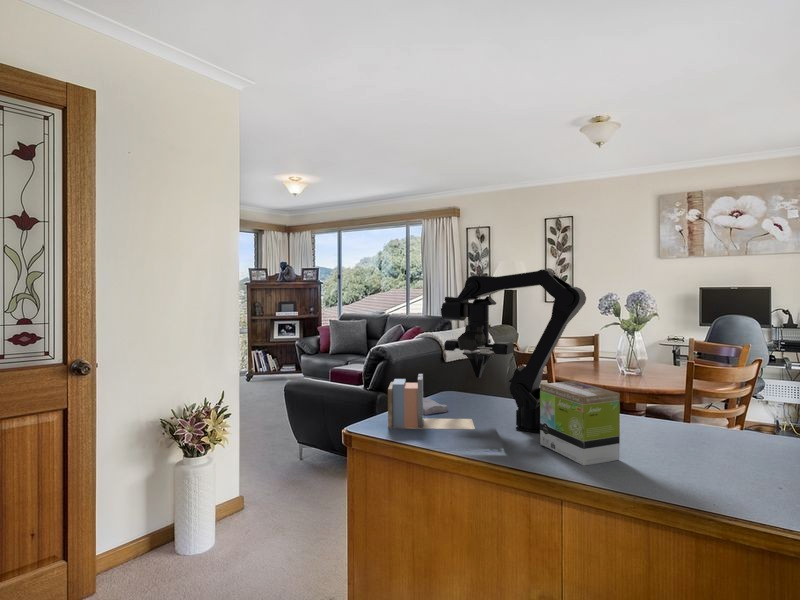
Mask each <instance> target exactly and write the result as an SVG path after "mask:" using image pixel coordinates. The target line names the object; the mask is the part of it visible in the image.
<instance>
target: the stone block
mask: <svg viewBox="0 0 800 600" xmlns="http://www.w3.org/2000/svg"><path fill="white" fill-rule="evenodd" d="M448 410H449V409H448V405H446V404H445V403H444V404H441V403H438V402H437V401H435V400H433V399H430V398H428V397H423V416H426V415H431V414H439V413H446V412H448Z"/></svg>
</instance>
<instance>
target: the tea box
mask: <svg viewBox="0 0 800 600" xmlns="http://www.w3.org/2000/svg"><path fill="white" fill-rule="evenodd" d="M539 387H540V433H539V434H540V435H539V436H540V438H539V439H540V446H543V447H545V448H548V449H550V450H552V451H553V452H555V453H558V454H560V455H562V456H564V457H566V458H567V459H570V460H572V461H573V462H575V463H578V465H581V466H583V467H585V466H590V465H596V464H602V463H603V464H604V463H609V462H613V461H618V460H620V448H621V447H620V441H621V440H620V437H621V436H620V435H621V433H620V432H621V431H620V429H621V428H620V423H621V417H620V415H621V414H620V413H621V411H620V410H621V405H620V404H621V402H620V401H621V397H620V396H621V393H620V392H616V391H613V390H610V389H609V390H608V389H605V388H603V387H598V386H595V385H591V384H588V383H587V384H586V383H584V382H579V381H575V380H568V381H559V382H551V383H549V382H548V383H540V386H539Z"/></svg>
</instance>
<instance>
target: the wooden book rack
mask: <svg viewBox="0 0 800 600" xmlns="http://www.w3.org/2000/svg"><path fill="white" fill-rule="evenodd" d="M393 382H394V381H390V383H389V386H388V388H387V428H388V429H404V430H405V429H414V430H418V429H419V430H420V429H421V430H422V429H424V430H425V429H427V430H428V429H429V430H430V429H431V430H435V429H436V430H437V429H438V430H476V427H475V425H474V421H473V419H472V418H424V417H423V427H393V403H392V384H393Z"/></svg>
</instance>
